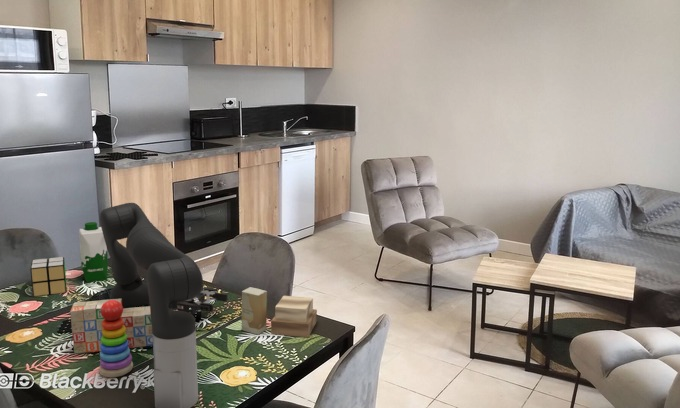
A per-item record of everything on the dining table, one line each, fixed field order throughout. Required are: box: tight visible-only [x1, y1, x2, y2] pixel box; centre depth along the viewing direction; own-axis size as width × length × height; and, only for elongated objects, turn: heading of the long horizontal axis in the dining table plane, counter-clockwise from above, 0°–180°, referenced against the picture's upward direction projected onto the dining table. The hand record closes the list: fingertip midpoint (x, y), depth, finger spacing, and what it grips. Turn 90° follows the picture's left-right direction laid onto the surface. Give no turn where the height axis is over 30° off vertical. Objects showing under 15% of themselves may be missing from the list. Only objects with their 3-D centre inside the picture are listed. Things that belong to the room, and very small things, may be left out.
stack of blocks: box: [69, 299, 153, 354], centre depth 157 cm, size 21×6×12 cm, turn 106°
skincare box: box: [241, 286, 268, 335], centre depth 167 cm, size 6×4×12 cm
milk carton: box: [78, 221, 109, 283], centre depth 207 cm, size 9×9×20 cm
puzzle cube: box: [29, 256, 67, 298], centre depth 196 cm, size 10×10×10 cm
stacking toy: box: [98, 299, 134, 378], centre depth 142 cm, size 8×8×19 cm
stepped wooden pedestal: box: [270, 295, 318, 338], centre depth 170 cm, size 11×11×8 cm
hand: (220, 302), depth 170 cm, fingers open, 8 cm apart
